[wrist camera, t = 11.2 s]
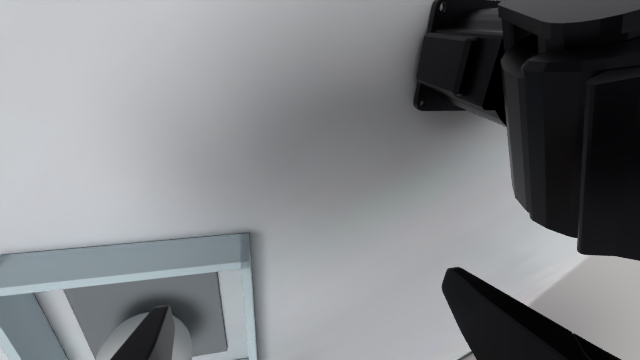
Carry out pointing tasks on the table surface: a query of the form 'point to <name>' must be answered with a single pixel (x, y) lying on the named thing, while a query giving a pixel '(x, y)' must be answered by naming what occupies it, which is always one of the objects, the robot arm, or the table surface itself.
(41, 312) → the light blue tray
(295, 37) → the table surface
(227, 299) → the table surface
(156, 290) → the pad
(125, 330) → the ball
